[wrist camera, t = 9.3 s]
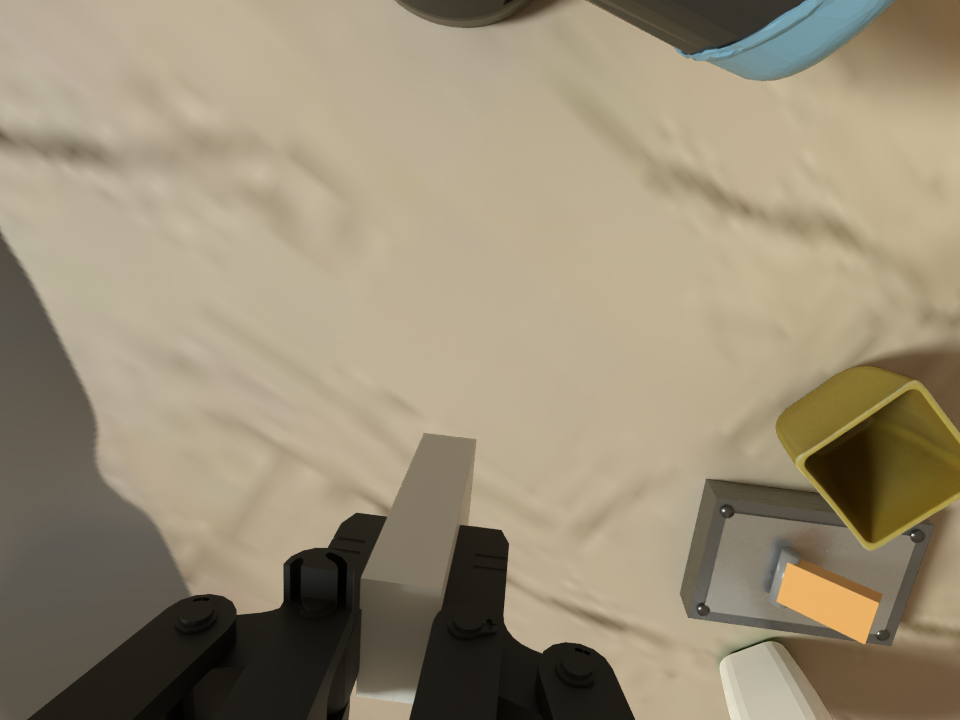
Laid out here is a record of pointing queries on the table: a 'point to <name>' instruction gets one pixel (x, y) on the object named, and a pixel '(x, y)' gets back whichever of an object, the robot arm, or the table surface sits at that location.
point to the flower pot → (874, 451)
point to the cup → (768, 686)
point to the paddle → (824, 596)
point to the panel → (756, 551)
